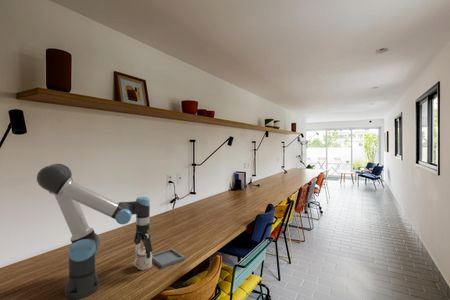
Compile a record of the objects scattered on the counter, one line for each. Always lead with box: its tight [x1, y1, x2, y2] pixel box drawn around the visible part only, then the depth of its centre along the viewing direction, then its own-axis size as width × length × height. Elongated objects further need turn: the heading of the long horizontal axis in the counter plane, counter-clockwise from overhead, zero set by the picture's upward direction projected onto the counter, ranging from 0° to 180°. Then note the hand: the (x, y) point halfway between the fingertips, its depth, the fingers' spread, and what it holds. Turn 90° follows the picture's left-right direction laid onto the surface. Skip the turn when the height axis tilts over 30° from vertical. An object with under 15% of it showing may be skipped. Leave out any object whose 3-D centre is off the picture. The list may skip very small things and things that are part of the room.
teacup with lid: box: [133, 246, 153, 271], centre depth 147 cm, size 12×9×12 cm
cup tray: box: [152, 248, 186, 269], centre depth 159 cm, size 16×16×2 cm
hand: (142, 258), depth 147 cm, fingers open, 13 cm apart
